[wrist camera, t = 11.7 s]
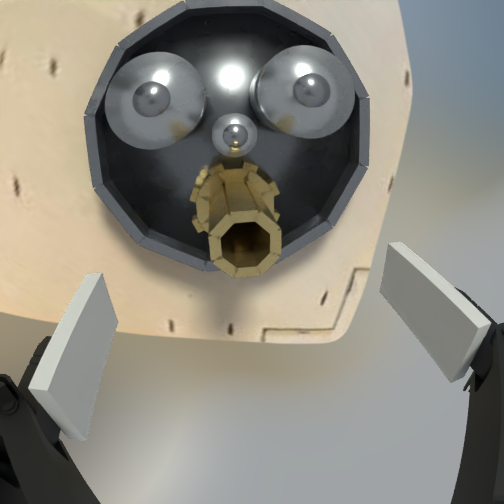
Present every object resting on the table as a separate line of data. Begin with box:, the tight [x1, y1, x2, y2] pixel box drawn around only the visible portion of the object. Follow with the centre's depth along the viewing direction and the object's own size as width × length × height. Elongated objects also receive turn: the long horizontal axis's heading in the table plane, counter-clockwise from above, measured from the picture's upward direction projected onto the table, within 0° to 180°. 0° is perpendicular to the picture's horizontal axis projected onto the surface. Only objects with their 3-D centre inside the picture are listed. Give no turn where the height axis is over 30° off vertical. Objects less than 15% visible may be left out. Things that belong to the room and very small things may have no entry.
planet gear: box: [190, 160, 281, 278], centre depth 23 cm, size 8×8×10 cm
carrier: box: [84, 0, 370, 271], centre depth 22 cm, size 24×24×8 cm
